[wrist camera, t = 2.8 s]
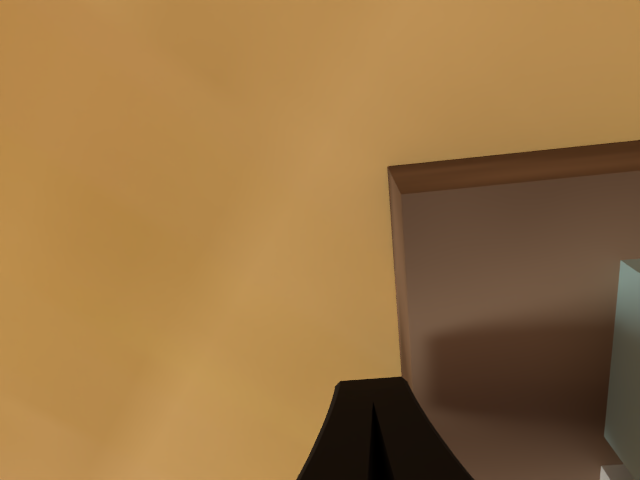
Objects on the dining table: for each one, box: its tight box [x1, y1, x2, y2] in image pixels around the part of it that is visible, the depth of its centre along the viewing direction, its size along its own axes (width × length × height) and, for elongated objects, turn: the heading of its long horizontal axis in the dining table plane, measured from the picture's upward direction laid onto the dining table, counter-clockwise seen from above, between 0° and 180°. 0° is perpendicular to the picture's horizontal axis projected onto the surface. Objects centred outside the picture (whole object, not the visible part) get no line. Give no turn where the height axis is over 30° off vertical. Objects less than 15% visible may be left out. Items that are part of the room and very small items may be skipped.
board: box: [388, 140, 640, 480], centre depth 13 cm, size 13×12×3 cm
